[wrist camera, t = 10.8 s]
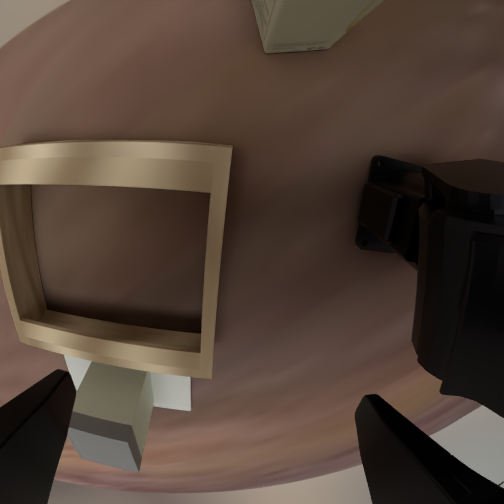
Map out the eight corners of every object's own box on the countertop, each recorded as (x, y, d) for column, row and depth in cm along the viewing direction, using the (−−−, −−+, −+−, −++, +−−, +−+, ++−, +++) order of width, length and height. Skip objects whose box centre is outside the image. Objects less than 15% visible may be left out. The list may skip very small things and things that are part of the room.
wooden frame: (233, 145, 17) (232, 147, 14) (214, 343, 23) (211, 378, 19) (23, 143, 16) (-11, 149, 12) (42, 315, 21) (20, 342, 18)
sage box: (149, 364, 23) (127, 442, 15) (154, 401, 24) (139, 472, 17) (94, 354, 22) (61, 424, 15) (104, 392, 24) (81, 458, 17)
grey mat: (191, 359, 23) (190, 364, 23) (191, 406, 26) (190, 410, 25) (62, 337, 22) (59, 341, 22) (77, 385, 24) (75, 389, 24)
